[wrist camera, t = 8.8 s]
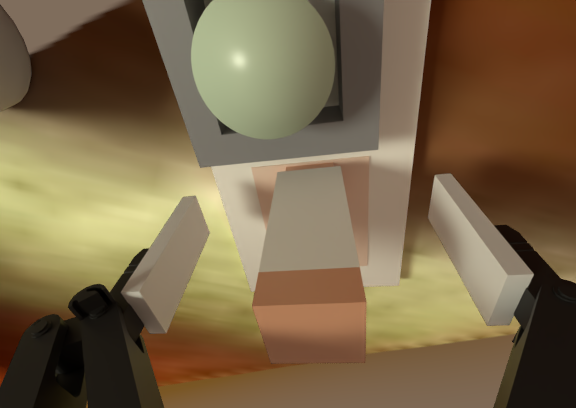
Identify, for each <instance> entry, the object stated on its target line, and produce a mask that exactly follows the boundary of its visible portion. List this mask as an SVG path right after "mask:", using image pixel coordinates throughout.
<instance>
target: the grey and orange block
mask: <svg viewBox="0 0 576 408" xmlns="http://www.w3.org/2000/svg"><path fill="white" fill-rule="evenodd" d="M252 308H253V311H254V314H255V317H256V320H257V323H258V326H259V329H260V332H261V335H262V338H263V341H264V344H265V347H266V350H267V353H268V356H269V359H270V362H271V364H276V363H365V351H366V298H365V292H364V287H363V282H362V276H361V271H360V266H359V261H358V255H357V250H356V245H355V239H354V234H353V229H352V224H351V218H350V213H349V208H348V202H347V197H346V192H345V186H344V181H343V176H342V171H341V166H333V162H332V163H322V164H311V165H301V166H291V167H286V171H282V172H277V178H276V183H275V188H274V193H273V199H272V204H271V209H270V214H269V220H268V225H267V230H266V235H265V241H264V246H263V251H262V256H261V262H260V267H259V272H258V277H257V283H256V288H255V293H254V298H253V304H252Z"/></svg>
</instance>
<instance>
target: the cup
mask: <svg viewBox="0 0 576 408" xmlns="http://www.w3.org/2000/svg"><path fill="white" fill-rule="evenodd" d="M31 75H32V72H31V62H30V56H29V53H28V51H27V48H26V45H25V42H24V39H23V38H22V36H21V34H20V32H19V31H18V29H17V27H16V25H15V23H14V22H13V20H12V19H11V18H10V16H9V15H8V14H7V13H6V11H5V10H4V9H3V7H2V6H1V5H0V112H1V111H3V110H5V109H7V108H9V107H11V106H13V105H15V104H17V103H19V102H20V101H21V100H22V99H23V97H24V96H25V95H26V93H27V92H28V88H29V84H30V79H31Z"/></svg>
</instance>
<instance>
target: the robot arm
mask: <svg viewBox="0 0 576 408" xmlns="http://www.w3.org/2000/svg"><path fill="white" fill-rule="evenodd" d="M428 219H429V221H430V223H431V225H432V226H433V228H434V230H435V232H436V234H437V235H438V237H439V239H440V241H441V243H442V245H443V246H444V248H445V250H446V252H447V254H448V256H449V257H450V259H451V261H452V263H453V265H454V266H455V268H456V270H457V272H458V274H459V276H460V277H461V279H462V281H463V283H464V285H465V287H466V288H467V290H468V292H469V294H470V296H471V297H472V299H473V301H474V303H475V305H476V307H477V308H478V310H479V312H480V314H481V316H482V318H483V319H484V321H485V323H486V325H487V326H495V325H510V323H511V321H512V318H513V316H515V317H516V319H517V320H518V322H519V323H520V325H521V326H520V327H519V329H518V331H517V333H516V335H515V337H514V339H513V341H512V342H513V343H514V345H513V348H512V351H511V354H510V357H509V360H508V363H507V367H506V370H505V373H504V376H503V379H502V382H501V385H500V388H499V392H498V395H497V398H496V402H495V404H494V407H493V408H576V283H573V282H571V281H567V280H563V279H561V278H560V277H559V276H558V275H557V274H556V273H555V272H554V271H553V270H552V269H551V267H550V266H549V265H548V264H547V263H546V262H545V261H544V260H543V259H542V258H541V256H540V255H539V254H538V253H537V252H536V251H534V249H533V248H532V247H531V245H530V244H529V243H527V241H526V240H525V239H524V238H523V237H522V236H521V234H520V233H519V232H517V231H515V230H514V229H512V228H511V227H509V226H507V225H495V226H494V225H493V224H492V223H491V222H490V220H489V219H488V218H487V217H486V215H485V214H484V213H483V212H482V211H481V209H480V208H479V207H478V206H477V205H476V203H475V202H474V201H473V200H472V198H471V197H470V196H469V195H468V194H467V192H466V191H465V190H464V189H463V188H462V186H461V185H460V184H459V183H458V182H457V180H456V179H455V178H454V177H453V175H452V174H451V173H450V174H439V175H435V177H434V183H433V189H432V195H431V201H430V207H429V213H428ZM209 234H210V232H209V230H208V227H207V224H206V222H205V219H204V216H203V214H202V211H201V208H200V206H199V203H198V201H197V198H196V196H188V197H183V198H182V199H181V201H180V202H179V204H178V205H177V207H176V208H175V210H174V211H173V213H172V214H171V216H170V218H169V219H168V221H167V222H166V224H165V225H164V227H163V228H162V230H161V231H160V233H159V234H158V236H157V237H156V239H155V241H154V242H153V244H152V245H151V247H150V248H149V249H143V250H142V251H141V252H139V253H138V254H137V255H136V256H135V257H134V258H133V260H132V261H131V263H130V264H129V267H127V268H126V270H125V271H124V274H122V276H121V277H120V279H119V280H118V281H117V283H116V284H115V286H114V287H113V289H112V290H111V292H110V293H109V291H108V290H107V289H106V287H105V286H104V285H101V284H96V285H91V286H89V287H86V288H85V289H83V290H81V291H80V292H78V293H77V294H76V295H75V296H74V297H73V298H72V300H71V301H70V302H69V306H68V308H69V309H70V310H71V312H72V313H73V314H74V315H75V316H76V317H75V318H71V319H68V320H65V321H63V320H62V319H61V318H60V317H59V315H55V314H52V315H48V316H45V317H43V318H41V319H39V320H37V321H36V322H34V323H33V324H32V325H31V326H30V327H29V328H28V329H27V330H26V331H25V332H24V334H23V335H22V337H21V340H20V342H19V344H18V347H17V349H16V351H15V354H14V356H13V358H12V361H11V363H10V365H9V368H8V370H7V372H6V375H5V377H4V379H3V382H2V384H1V386H0V408H86V403H87V401H88V408H164V405H163V402H162V399H161V396H160V392H159V389H158V386H157V382H156V379H155V376H154V372H153V369H152V366H151V363H150V359H149V356H148V353H147V349H146V346H145V343H144V340H143V337H142V336H141V335H140V333H141V331H142V329H143V327H144V326H145V328H146V329H147V330H148V332H149V333H150V334H155V333H167V330H168V328H169V326H170V324H171V321H172V319H173V317H174V314H175V312H176V310H177V307H178V305H179V303H180V300H181V298H182V296H183V294H184V291H185V289H186V287H187V284H188V282H189V280H190V277H191V275H192V273H193V271H194V268H195V266H196V264H197V261H198V259H199V257H200V254H201V252H202V250H203V248H204V245H205V243H206V241H207V238H208V236H209Z"/></svg>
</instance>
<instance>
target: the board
mask: <svg viewBox="0 0 576 408" xmlns="http://www.w3.org/2000/svg"><path fill="white" fill-rule="evenodd" d="M142 1H143V4H144V7H145V10H146V12H147V15H148V18H149V21H150V24H151V27H152V30H153V33H154V36H155V39H156V41H157V44H158V47H159V50H160V53H161V56H162V59H163V62H164V65H165V67H166V70H167V73H168V76H169V79H170V82H171V85H172V88H173V91H174V93H175V96H176V99H177V102H178V105H179V108H180V111H181V114H182V117H183V120H184V122H185V125H186V128H187V131H188V134H189V137H190V140H191V143H192V146H193V148H194V151H195V154H196V157H197V160H198V163H199V166H200V168H202V167H211V168H212V171H213V175H214V178H215V181H216V184H217V187H218V190H219V193H220V196H221V199H222V203H223V206H224V209H225V212H226V215H227V218H228V221H229V224H230V227H231V231H232V234H233V237H234V240H235V243H236V246H237V249H238V252H239V255H240V259H241V262H242V265H243V268H244V271H245V274H246V277H247V280H248V283H249V287H250V290H251V292H254V291H255V288H256V283H257V277H258V272H259V267H260V262H261V256H262V251H263V246H264V241H265V235H266V230H267V225H268V220H269V214H270V209H271V204H272V199H273V193H274V188H275V183H276V178H277V172H282V171H286V167H291V166H301V165H311V164H322V163H332V162H333V166H341V171H342V176H343V181H344V186H345V192H346V197H347V202H348V208H349V213H350V218H351V224H352V229H353V234H354V239H355V245H356V250H357V255H358V261H359V266H360V271H361V276H362V282H363V287H374V286H398V285H399V282H400V273H401V264H402V255H403V246H404V237H405V228H406V220H407V211H408V202H409V193H410V184H411V175H412V166H413V157H414V148H415V140H416V131H417V122H418V113H419V104H420V95H421V86H422V77H423V68H424V59H425V51H426V42H427V33H428V24H429V15H430V6H431V0H307V1H308V2H309V3H310V4H311V5H312V6H313V7H314V8H315V9H316V11H317V12H318V13H319V15H320V16H321V18H322V19H323V21H324V23H325V25H326V27H327V29H328V31H329V34H330V37H331V40H332V44H333V48H334V55H335V75H334V82H333V86H332V89H331V93H330V95H329V98H328V100H327V102H326V104H325V105H324V107H323V109H322V110H321V112H320V113H319V114H318V116H317V117H316V118H315V119H314V120H313V121H312V122H311V123H310V124H308V125H307V126H306V127H305V128H303V129H301V130H300V131H298V132H296V133H294V134H292V135H289V136H286V137H283V138H278V139H257V138H252V137H248V136H245V135H242V134H240V133H238V132H236V131H234V130H232V129H231V128H229V127H227V126H226V125H225V124H223V123H222V122H221V121H220V120H219V119H218V118H217V117H216V116H215V115H214V114H213V113H212V112H211V111H210V109H209V108H208V107H207V105H206V104H205V102H204V101H203V99H202V97H201V95H200V93H199V91H198V89H197V86H196V83H195V80H194V76H193V72H192V64H191V47H192V39H193V35H194V31H195V28H196V26H197V23H198V21H199V19H200V17H201V15H202V14H203V12H204V10H205V9H206V8H207V6H208V5H209V4H210V3H211V2H212V1H213V0H142Z"/></svg>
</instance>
